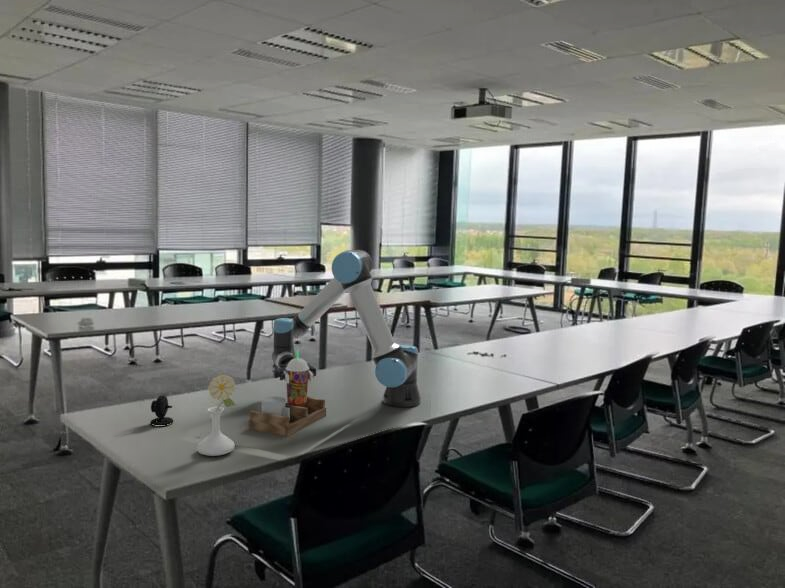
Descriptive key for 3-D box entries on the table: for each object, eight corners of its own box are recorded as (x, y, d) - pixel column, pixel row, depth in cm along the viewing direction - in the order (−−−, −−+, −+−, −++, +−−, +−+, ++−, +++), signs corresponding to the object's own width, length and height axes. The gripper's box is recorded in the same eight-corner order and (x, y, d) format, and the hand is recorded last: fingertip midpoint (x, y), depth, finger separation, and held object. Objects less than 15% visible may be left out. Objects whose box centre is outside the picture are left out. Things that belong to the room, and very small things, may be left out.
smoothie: (289, 410, 217) (290, 353, 215) (282, 403, 225) (282, 348, 222) (311, 407, 221) (313, 352, 219) (304, 400, 229) (304, 347, 226)
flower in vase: (188, 455, 190) (187, 375, 186) (212, 443, 200) (211, 367, 197) (224, 462, 185) (224, 380, 182) (246, 449, 196) (246, 371, 192)
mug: (256, 426, 212) (256, 401, 211) (270, 420, 220) (270, 395, 218) (282, 431, 208) (282, 405, 207) (295, 424, 215) (295, 399, 214)
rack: (326, 419, 226) (326, 399, 225) (288, 440, 204) (288, 418, 203) (289, 413, 233) (289, 393, 232) (248, 432, 211) (248, 411, 210)
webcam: (155, 419, 222) (155, 392, 221) (176, 420, 222) (176, 393, 220) (146, 426, 214) (145, 398, 213) (168, 427, 214) (167, 399, 213)
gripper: (314, 371, 242) (328, 387, 221) (260, 374, 235) (270, 391, 214) (314, 352, 241) (329, 366, 220) (260, 355, 234) (270, 369, 213)
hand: (300, 378), depth 217 cm, fingers closed on smoothie, 8 cm apart
